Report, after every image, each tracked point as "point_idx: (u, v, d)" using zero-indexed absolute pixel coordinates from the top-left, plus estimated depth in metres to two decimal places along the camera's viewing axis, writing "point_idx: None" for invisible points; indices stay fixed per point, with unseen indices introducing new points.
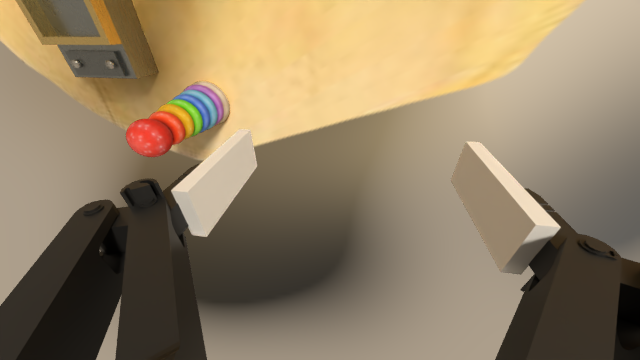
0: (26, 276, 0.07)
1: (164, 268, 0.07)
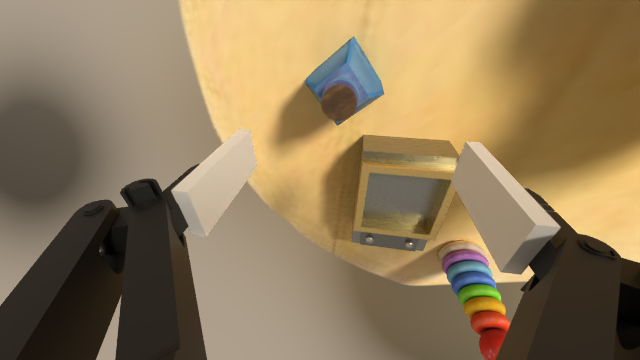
0: (26, 276, 0.07)
1: (164, 268, 0.07)
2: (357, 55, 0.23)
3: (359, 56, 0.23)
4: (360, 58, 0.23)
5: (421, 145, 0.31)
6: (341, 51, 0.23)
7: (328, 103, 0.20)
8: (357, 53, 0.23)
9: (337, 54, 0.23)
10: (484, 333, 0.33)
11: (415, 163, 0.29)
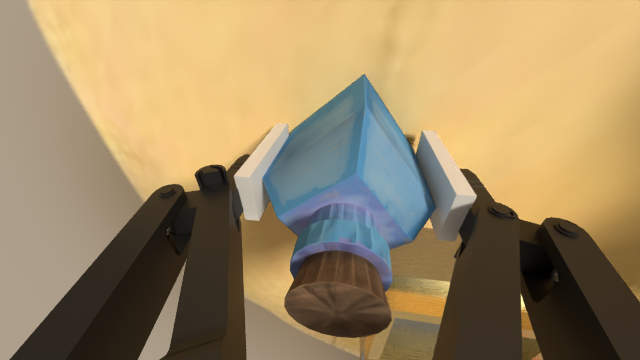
0: (108, 246, 0.07)
1: (222, 252, 0.07)
2: (380, 139, 0.09)
3: (385, 140, 0.09)
4: (387, 144, 0.09)
5: None
6: (341, 129, 0.09)
7: (305, 309, 0.07)
8: (380, 134, 0.09)
9: (331, 136, 0.09)
10: None
11: None
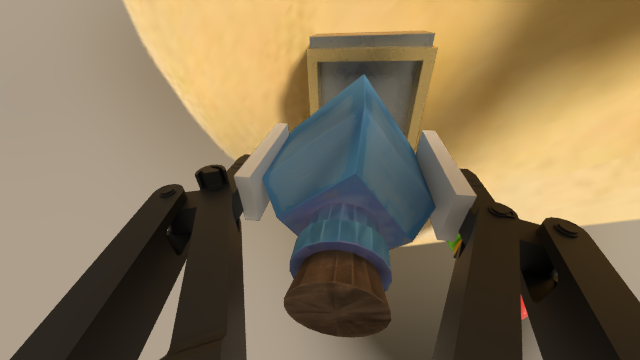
0: (109, 246, 0.07)
1: (222, 252, 0.07)
2: (380, 139, 0.09)
3: (384, 140, 0.09)
4: (386, 144, 0.09)
5: None
6: (340, 129, 0.09)
7: (305, 309, 0.07)
8: (379, 134, 0.09)
9: (331, 136, 0.10)
10: None
11: (376, 47, 0.23)
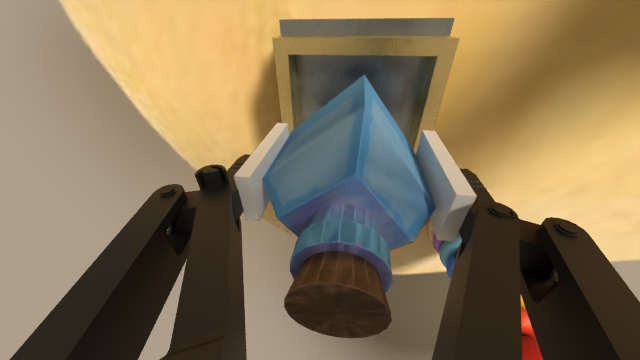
0: (109, 246, 0.07)
1: (222, 252, 0.07)
2: (380, 140, 0.09)
3: (384, 141, 0.09)
4: (387, 145, 0.09)
5: None
6: (340, 130, 0.09)
7: (305, 310, 0.07)
8: (380, 135, 0.09)
9: (331, 136, 0.10)
10: None
11: (371, 36, 0.16)
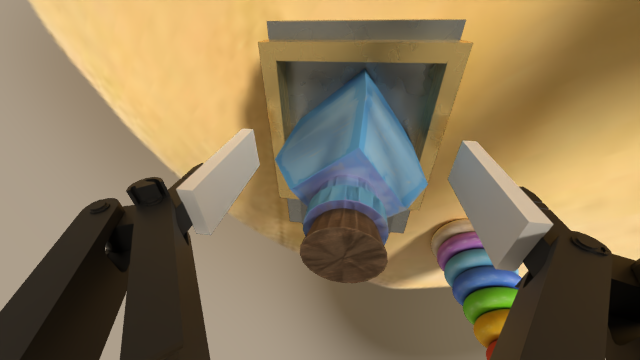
0: (33, 273, 0.07)
1: (169, 266, 0.07)
2: (379, 122, 0.11)
3: (382, 123, 0.11)
4: (384, 126, 0.11)
5: None
6: (345, 113, 0.11)
7: (317, 255, 0.08)
8: (378, 117, 0.11)
9: (336, 119, 0.11)
10: None
11: (370, 40, 0.14)
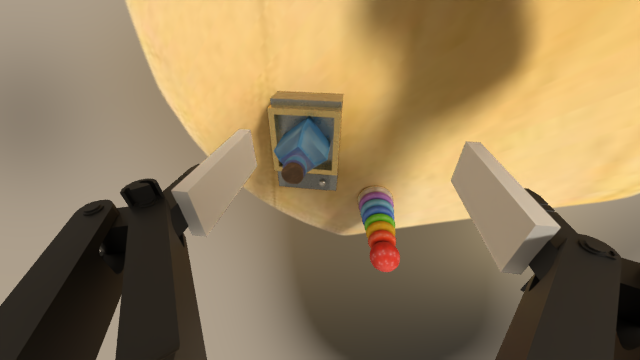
0: (26, 276, 0.07)
1: (164, 268, 0.07)
2: (306, 138, 0.34)
3: (308, 138, 0.35)
4: (309, 140, 0.35)
5: (319, 95, 0.40)
6: (296, 135, 0.34)
7: (285, 174, 0.32)
8: (306, 137, 0.34)
9: (293, 137, 0.35)
10: None
11: (309, 107, 0.38)
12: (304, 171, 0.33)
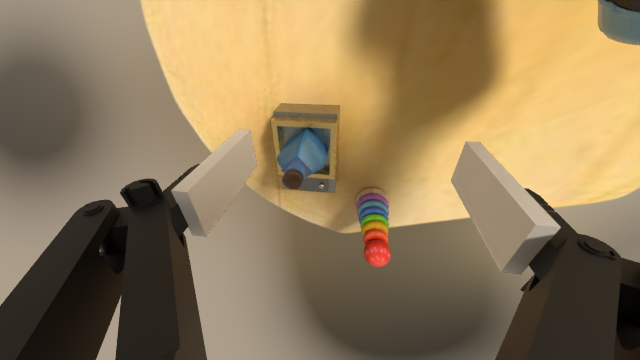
0: (26, 276, 0.07)
1: (164, 268, 0.07)
2: (305, 148, 0.39)
3: (306, 148, 0.39)
4: (307, 149, 0.39)
5: (317, 108, 0.44)
6: (296, 146, 0.39)
7: (286, 180, 0.37)
8: (305, 147, 0.39)
9: (293, 147, 0.39)
10: (367, 243, 0.45)
11: (308, 119, 0.42)
12: (302, 177, 0.37)
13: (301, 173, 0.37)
